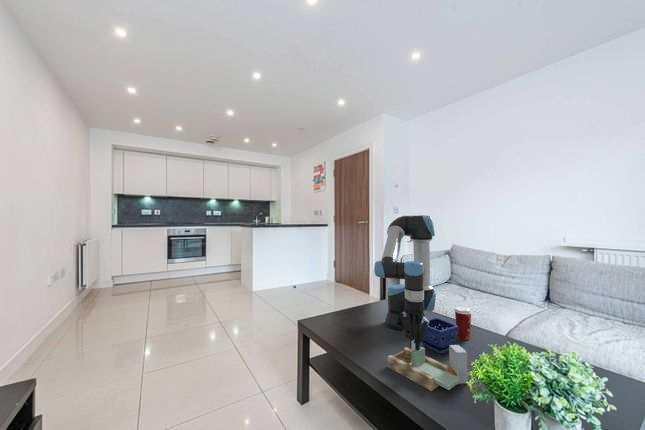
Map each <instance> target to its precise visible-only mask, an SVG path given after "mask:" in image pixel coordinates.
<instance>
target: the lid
mask: <svg viewBox="0 0 645 430" xmlns="http://www.w3.org/2000/svg"><path fill="white" fill-rule="evenodd" d="M411 355H412V362H411V363H410V365H412V366H414V367H416V368H418V369H420V370H422V371H424V372H426V373H428V374H430V375H432V376H434V383H436V384H438V385H439V387H442V388H444V389H446V390H448V391H451V389H453V388H454V387H455V386H456V385H459V384H458V383H459V382H460V378H459V377H457V376H455V375H453V374H451V373H448V372H446V371H444V370H442V369H440V368H438V367H436V366H434V365H431V364H429V363H427V362H425V356H426V347H425V346H424V347H423V346H420V350H418V351H417V350H414V351H412V352H411Z"/></svg>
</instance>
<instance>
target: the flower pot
mask: <svg viewBox="0 0 645 430" xmlns="http://www.w3.org/2000/svg"><path fill="white" fill-rule="evenodd" d="M427 320H430V323H429V324H428V327H427V332H426V336H425V341H423V342H421V343H420V344H422V345H423V346H424V348H427V349H428V350H430V351H432V352H434V353H436V354H438V355H442V354H444V353H449V345H455V342H456V340H457V338H458V337H457V334H458V326H457V325H456V323H452V322H450V321H447V320H445V319H441V318H439V317H433V318H429V319H427ZM422 324H423V323H422V321H421V325H420V331H421V327H422Z"/></svg>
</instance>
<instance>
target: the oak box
mask: <svg viewBox="0 0 645 430" xmlns="http://www.w3.org/2000/svg"><path fill="white" fill-rule="evenodd" d="M411 352H412V348H409V347H404V348H403V350H400V351H399V352H397V353H394V354H393V355H392V354H389V355H387V367H388V369H390V370H392V371H395V373H398V374H400V375H402V376H404V377H405V378H406V379H409V380H410V381H412V382H415V383H416V384H417V385H419V386H421V387H423V388H425V389H427V390H429V391H430V392H432V391H434V390H435V389H437V388H438V387H440V385H438V384H436V383H434V376H432V375H430V374H428V373H426V372H424V371H422V370H420V369H418V368H416V367H414V366H412V365H410V363H411V362H412V355H411ZM425 362H427V363H429V364H431V365H434V366H436V367H438V368H440V369H442V370H444V371H446V372H448V373H450V365H447V364H445V363H443V362H440V361H439V360H437V359H434V358H431V357H429V356H427V355H425Z"/></svg>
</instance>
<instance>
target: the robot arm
mask: <svg viewBox="0 0 645 430" xmlns="http://www.w3.org/2000/svg"><path fill="white" fill-rule="evenodd" d="M435 233H436V231H435V227H434V219H433V217H432V216H431V215H423V214H422V215H401V216H399V217H397V218H395V219H393V221H392V222H391V223H390V224H389V225H388V227H387V229H386V235H387V238H386V240H385V241H386V242H385V246H384V249H383V253H382V257H381V260H377V261H375V262H374V269H373V270H374V275H375V276H376V277H377V278H382V279H395V280H396V279H399V280H404V284H402V283H401V284H394V285H393V284H392V285H390V286H388V288H387V314H386V317H385V326H386V327H387V326H388V327H387V328H389V327H390V328H389V329H392V330H395V331H404V335H405V338H408V339H409V347H410V348H409V349H411V350H412V351H414V350H417V351H418V350H420V347H421V344H422V343H421V342H423V341H425V336H426V332H427V327H428V326H429V325H428V324H429V323H430V320H428V319H427V317H426V315H425V313H424V312H433V311H434V310H435V308H436V307H435V305H436V300H437V299H436V298H437V291H436V289H434V286H433V285H432V284H431V256H430V255H431V253H430V251H431V250H430V246H431V245H430V242H431V241H433V237H435V236H436V234H435ZM404 237H410V240H411V241H412V242H413V244H412V245H413V260H409V261H406V262H403V261H402V262H401V261H398V260H399V255H400V249H401V243H402V240H403V238H404ZM421 322H422V323H423V324H422V327H421V331H420V325H421Z"/></svg>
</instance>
